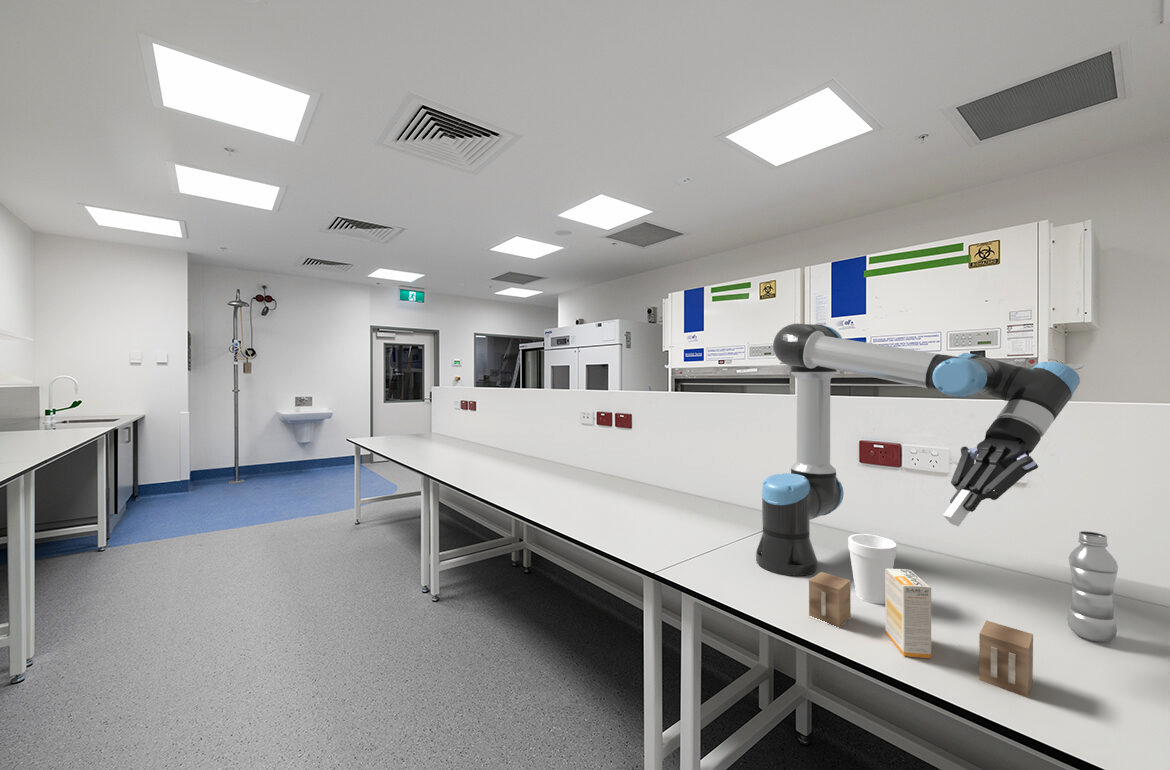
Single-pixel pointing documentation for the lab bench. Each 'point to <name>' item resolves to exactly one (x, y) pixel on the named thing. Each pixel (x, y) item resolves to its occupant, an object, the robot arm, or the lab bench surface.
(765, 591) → the lab bench surface
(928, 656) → the supplement box
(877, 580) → the foam cup
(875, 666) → the lab bench surface
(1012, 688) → the walnut block two
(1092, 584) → the plastic bottle
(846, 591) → the walnut block one
